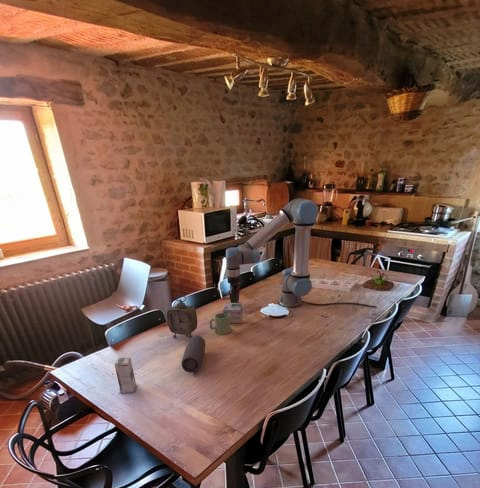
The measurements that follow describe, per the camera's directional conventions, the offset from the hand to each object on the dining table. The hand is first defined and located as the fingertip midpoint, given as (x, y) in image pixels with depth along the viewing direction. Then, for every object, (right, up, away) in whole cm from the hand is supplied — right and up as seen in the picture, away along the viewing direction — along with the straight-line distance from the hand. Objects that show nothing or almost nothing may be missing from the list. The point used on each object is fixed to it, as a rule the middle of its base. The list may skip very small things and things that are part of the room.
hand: (235, 313), depth 220 cm
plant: (+104, +26, +43) cm, 116 cm away
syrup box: (-46, -42, -62) cm, 88 cm away
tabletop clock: (-28, -16, -17) cm, 36 cm away
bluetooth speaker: (-19, -30, -44) cm, 57 cm away
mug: (-8, -12, -13) cm, 20 cm away
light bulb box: (-1, -4, -2) cm, 5 cm away
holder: (+66, +29, +53) cm, 89 cm away
